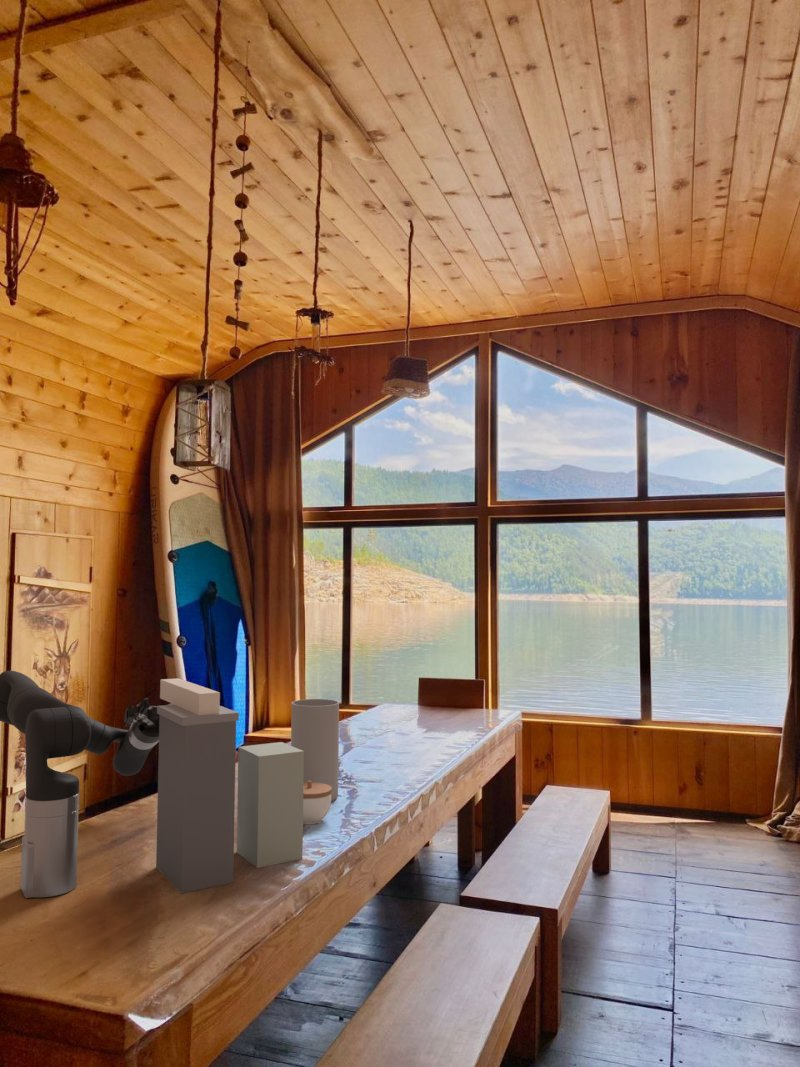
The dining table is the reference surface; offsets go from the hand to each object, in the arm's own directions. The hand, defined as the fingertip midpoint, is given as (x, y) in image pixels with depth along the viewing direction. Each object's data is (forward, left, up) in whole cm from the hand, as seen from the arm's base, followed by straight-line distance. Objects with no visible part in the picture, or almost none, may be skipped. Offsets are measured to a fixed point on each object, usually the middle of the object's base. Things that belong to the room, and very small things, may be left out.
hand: (167, 700), depth 177 cm
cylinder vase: (+45, +18, -31) cm, 58 cm away
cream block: (0, -14, +1) cm, 14 cm away
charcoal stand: (0, -19, -31) cm, 37 cm away
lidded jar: (+35, +1, -31) cm, 47 cm away
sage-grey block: (+17, -17, -31) cm, 39 cm away
